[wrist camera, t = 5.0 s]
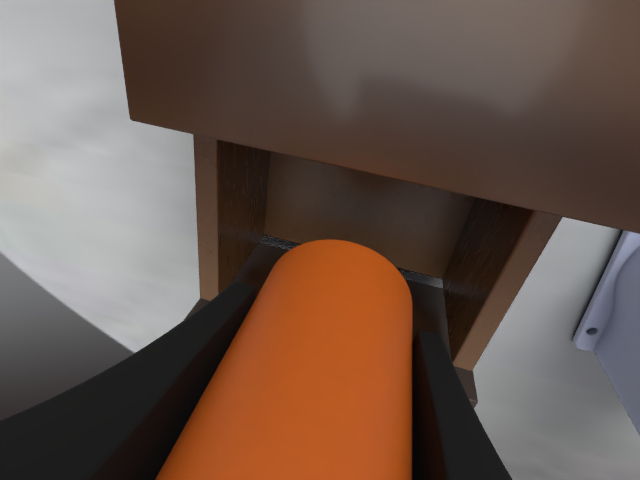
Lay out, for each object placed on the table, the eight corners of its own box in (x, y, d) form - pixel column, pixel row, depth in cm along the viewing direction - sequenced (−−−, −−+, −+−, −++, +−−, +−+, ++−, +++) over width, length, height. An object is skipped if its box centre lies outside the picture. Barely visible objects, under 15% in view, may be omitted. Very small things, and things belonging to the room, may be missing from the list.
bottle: (404, 361, 12) (394, 810, 5) (275, 341, 13) (120, 705, 6) (421, 245, 10) (439, 783, 3) (261, 231, 11) (-11, 620, 4)
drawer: (428, 358, 23) (434, 470, 17) (241, 307, 24) (189, 397, 18) (580, 38, 13) (705, 54, 8) (255, -19, 14) (154, -42, 9)
